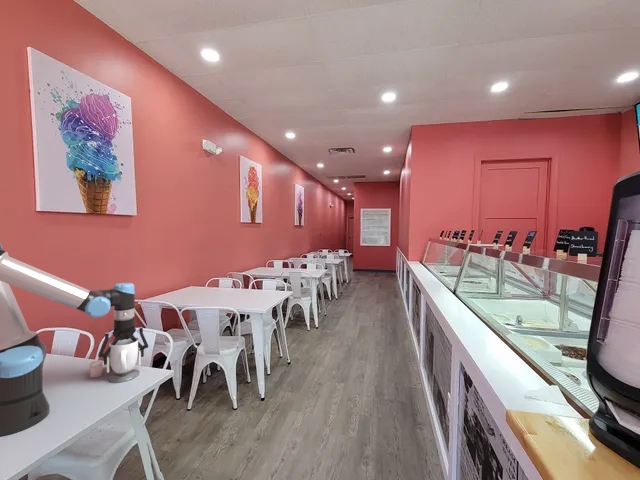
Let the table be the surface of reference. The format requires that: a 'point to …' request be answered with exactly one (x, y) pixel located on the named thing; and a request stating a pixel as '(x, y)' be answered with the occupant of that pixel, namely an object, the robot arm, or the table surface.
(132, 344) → the mug
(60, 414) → the table surface
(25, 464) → the table surface
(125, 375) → the coaster
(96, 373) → the pink jar
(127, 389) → the table surface
